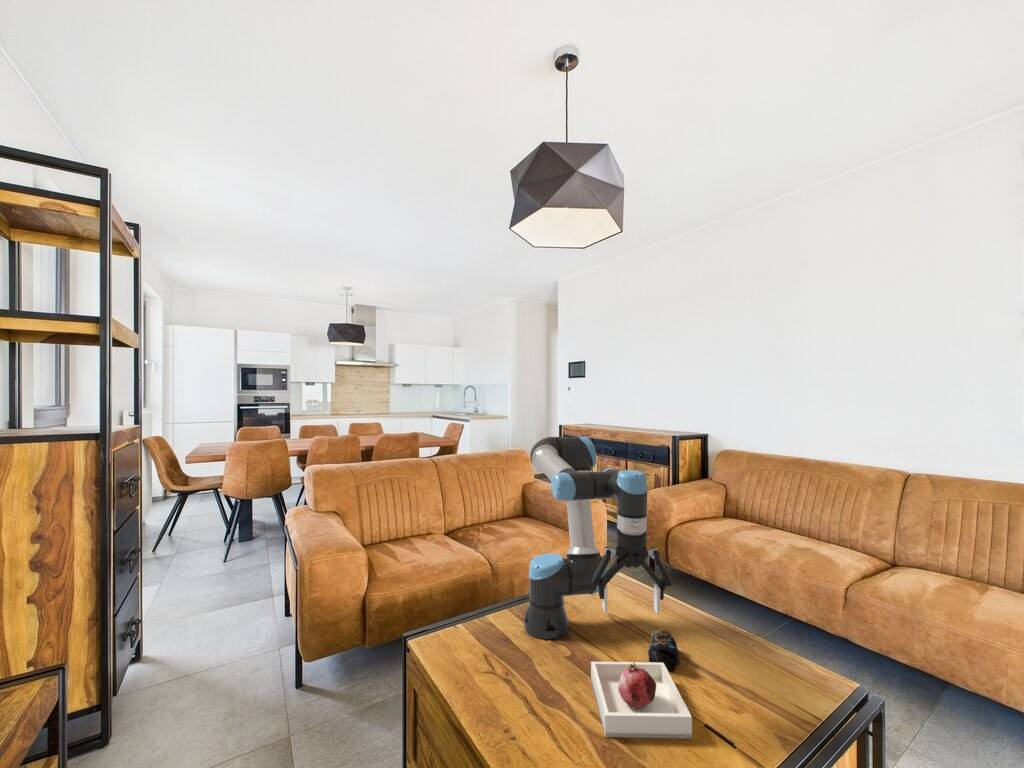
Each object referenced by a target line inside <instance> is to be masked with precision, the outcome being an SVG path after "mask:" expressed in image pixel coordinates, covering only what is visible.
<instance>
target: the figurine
mask: <svg viewBox="0 0 1024 768" xmlns="http://www.w3.org/2000/svg"><path fill="white" fill-rule="evenodd" d="M650 641H651V644H650V645H649V648H648V650H647V654H648V662H657V663H664V665H665V667H666V669H667V670H668V671H673V672H674V671H675V672H676V671H677V668H676V667H678V666H679V665H680V663H681V662H680V654H679V650H678V647H677V646H678V645H677V642H676V639H675V638H674V637H673V636H672V634H671V633H670V632H669V631H668V630H666V629H661V628H659V629H655V630H654V631H653V632H652V634H651V639H650Z"/></svg>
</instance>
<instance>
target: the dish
mask: <svg viewBox="0 0 1024 768" xmlns="http://www.w3.org/2000/svg"><path fill="white" fill-rule="evenodd" d="M633 662H634V663H635V666H636V667H640V668H643V669H644V670H646V671H647V672H648V673H649V675H650V676H651V677H652V678H653V679H654V681H655V683H656V692H655V697H654V700H653V701H652V702H651V703H650V704H647V705H645V706H644V707H642V708H634V707H631V706H629V705H628V704H627V703H626V702H624V701H623V699H622V697H621V695H620V693H619V690H618V685H619V680H620V677H621V674H622V672H623V671H624V670H625V669H627V668H628V667H630V664H632V665H633V666H634V664H633ZM667 669H668V668H666V667H665V665H664V663H657V662H649V661H647V662H643V661H640V662H639V661H637V662H636V661H590V681H591V685H592V689H593V692H594V693H593V694H594V697H595V701H596V706H597V711H598V714H599V718H600V721H601V726H602V730H603V734H604V737H605V738H628V739H629V738H631V739H632V738H633V739H634V738H636V739H637V738H638V739H685V740H686V739H693V717H692V715H691V712H690V711H689V708H688V707H687V705H686V703H685V701H684V700H683V698H682V695H681V694H680V692H679V690H678V687H677V686H676V684H675V682H674V681H673V678H672V677H671V674H670V672H669V670H667Z"/></svg>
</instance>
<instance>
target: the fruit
mask: <svg viewBox="0 0 1024 768" xmlns="http://www.w3.org/2000/svg"><path fill="white" fill-rule="evenodd" d="M632 662H633V664H634V666H633V665H632V664H630V667H628V668H627V669H625V670H624V671H623V672H622V674H621V677H620V680H619V685H618V690H619V693H620V695H621V697H622V699H623V701H624V702H626V703H627V704H628V705H629V706H631V707H634V708H642V707H644V706H645V705H647V704H650V703H651V702H652V701H653V700H654V697H655V692H656V683H655V681H654V679H653V678H652V677H651V676H650V675H649V673H648V672H647V671H646V670H644V669H643V668H640V667H636V666H635V663H634V662H635V661H632Z"/></svg>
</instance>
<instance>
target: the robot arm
mask: <svg viewBox="0 0 1024 768" xmlns="http://www.w3.org/2000/svg"><path fill="white" fill-rule="evenodd" d="M596 451H597V450H596V448H595V446H594V443H593V441H592V440H591V439H590V438H589V437H587V436H579V435H574V436H573V435H572V436H571V435H570V436H569V435H568V436H547V437H544V438H542V439H539V440H538V441H537V442H536V443H535V444H534V445H532V448H531V450H530V454H529V457H530V461H531V462H530V463H531V464H532V465H533V467H534V468H535V469H536V470H537V471H539V472H543V474H544V475H545V476H546V477H547V478H548V479H549V480H550V481H551V482H550V483H551V492H552V497H553V498H554V499H555V500H556V501H565V502H566V509H567V522H568V523H567V524H568V533H569V534H568V535H569V549H568V550H567V551H566V558H564V557H563V556H562V554H559V553H553V552H549V553H541V554H539V555H536V556H535V557H534V558H532V559H531V561H530V563H529V569H528V577H529V578H528V579H529V580H528V581H529V582H528V585H529V587H528V588H529V589H528V590H529V591H528V592H529V594H528V595H529V597H528V599H529V600H528V606H527V609H526V613H525V616H524V619H523V628H524V631H525V632H526V633H527V634H528V635H530V636H531V637H534V638H537V639H542V640H555V639H558V638H559V639H560V638H561V637H563V636H565V635H566V634H568V632H569V629H570V628H569V627H570V625H569V624H570V623H569V622H570V621H569V618H568V615H567V611H566V608H565V606H564V597H569V596H581V595H594V594H598V596H599V599H600V600H602V610H603V612H604V613H603V614H608V598H609V597H608V593H609V592H608V590H609V589H608V583H609V582H610V581H611V580H612V579H613V578H614V576H616V575H617V573H618V572H619V571H620V570H622V569H623V568H624V567H625V568H631V567H632V568H639V567H641V566H642V568H643V569H644V570H645V571H646V573H647V574H648V575H649V576H650V578H651V579H652V580H653V581H654V582H655V584H653V610H654V612H655V613H656V615H660V614H661V601H663V600H664V599H665V590H666V587H671V586H672V581H671V579H670V578H669V576H668V573H667V570H666V569H665V567H664V565H663V564H662V561H661V559H660V558H661V557H660V552H659V551H658V549H657V548H656V547H651V549H648V548H647V543H648V542H647V535H648V534H647V527H648V525H647V524H648V523H647V522H648V521H647V520H648V519H647V518H648V517H647V515H648V513H647V512H648V511H647V510H648V488H649V487H648V476H647V474H646V473H645V472H643V471H641V470H635V469H624V470H618V469H615V468H605V469H604V470H602V471H593V468H594V467H596V465H597V452H596ZM607 499H613V500H615V501H616V502H617V503H616V504H617V507H616V508H617V512H616V513H617V514H616V515H617V516H616V528H617V530H616V548H609V547H608V546H605V547H604V551H603V555H601V551H600V549H598V548H597V547H596V545H595V544H596V543H595V536H594V535H595V534H594V532H595V531H594V525H593V513H592V501H591V500H607ZM614 555H616V558H615V560H614V562H613V563H612V564H611V565H610V566H609V564H610V561H611V559H612V558H613V557H614ZM648 556H649V557H650V558H651V559H653V561H654V564H655V565H656V567H657V570H658V571H659V573H660V575H661V577H662V579H660V577H658V575H657V574H656V573H655V571H654V570H653V569H652V568H651V567H650V566H649V565H648V563H647V562H646V559H647V558H648ZM608 566H609V567H608Z"/></svg>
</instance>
